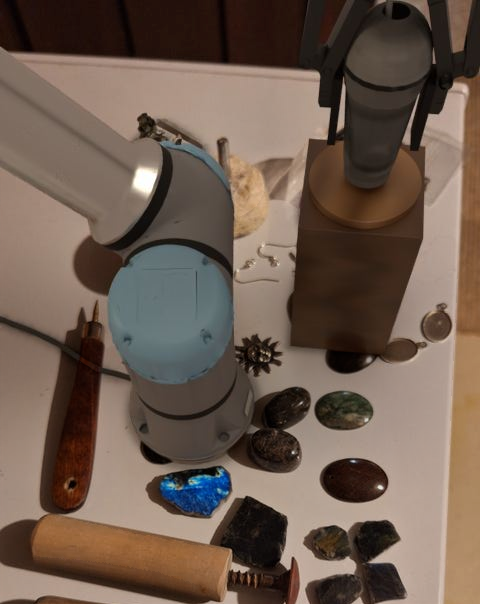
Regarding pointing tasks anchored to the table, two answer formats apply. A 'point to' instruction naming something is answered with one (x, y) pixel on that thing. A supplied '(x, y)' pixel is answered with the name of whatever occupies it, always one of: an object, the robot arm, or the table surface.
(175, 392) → the robot arm
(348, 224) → the cork coaster
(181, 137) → the figurine on square base
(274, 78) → the table surface
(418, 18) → the beverage cup
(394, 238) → the walnut stand
